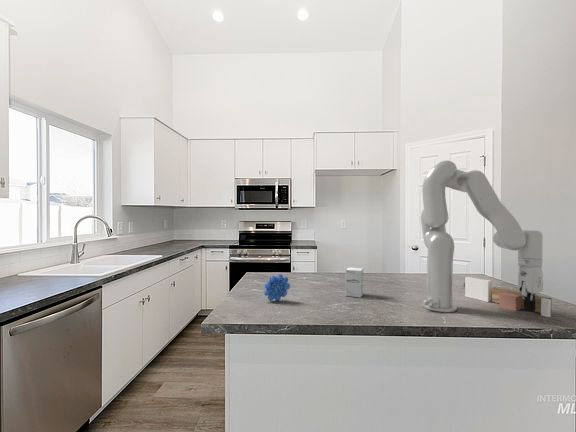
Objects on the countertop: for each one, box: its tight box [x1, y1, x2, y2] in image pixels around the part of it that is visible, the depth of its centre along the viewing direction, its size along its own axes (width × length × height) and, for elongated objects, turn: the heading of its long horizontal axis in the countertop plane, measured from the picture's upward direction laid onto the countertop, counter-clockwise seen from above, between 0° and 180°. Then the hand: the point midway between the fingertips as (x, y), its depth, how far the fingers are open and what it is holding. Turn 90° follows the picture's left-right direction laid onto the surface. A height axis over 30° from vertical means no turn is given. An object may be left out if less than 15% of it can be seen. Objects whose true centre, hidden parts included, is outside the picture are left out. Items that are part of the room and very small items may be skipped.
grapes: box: [263, 273, 291, 302], centre depth 140 cm, size 12×7×12 cm, turn 95°
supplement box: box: [344, 267, 364, 299], centre depth 150 cm, size 7×7×13 cm
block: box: [498, 293, 522, 312], centre depth 130 cm, size 4×6×6 cm
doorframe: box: [464, 276, 552, 318], centre depth 134 cm, size 5×33×9 cm, turn 31°
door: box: [491, 286, 552, 314], centre depth 130 cm, size 2×21×6 cm, turn 31°
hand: (529, 309), depth 122 cm, fingers closed
